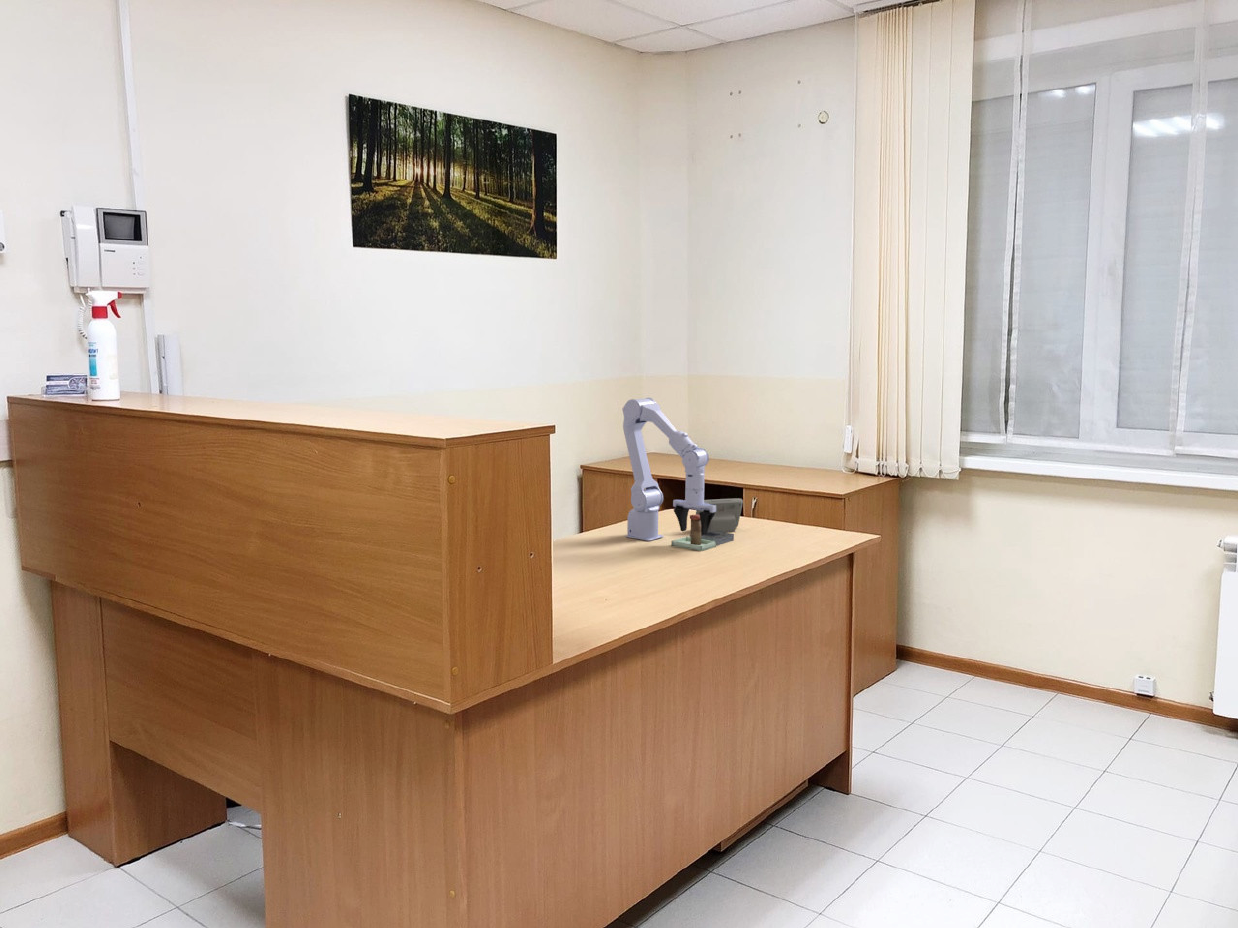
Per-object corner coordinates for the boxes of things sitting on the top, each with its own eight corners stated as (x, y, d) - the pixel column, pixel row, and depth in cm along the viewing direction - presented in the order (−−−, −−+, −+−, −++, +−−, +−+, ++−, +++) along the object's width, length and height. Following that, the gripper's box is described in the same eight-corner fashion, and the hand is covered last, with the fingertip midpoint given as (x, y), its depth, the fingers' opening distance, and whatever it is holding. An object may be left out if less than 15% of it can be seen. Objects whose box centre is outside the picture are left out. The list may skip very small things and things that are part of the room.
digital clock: (738, 527, 331) (739, 496, 330) (745, 533, 322) (746, 500, 321) (691, 528, 329) (691, 496, 328) (696, 534, 320) (697, 501, 319)
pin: (687, 544, 303) (687, 516, 302) (694, 542, 306) (694, 514, 305) (697, 546, 301) (697, 517, 299) (704, 543, 304) (704, 515, 302)
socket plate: (689, 541, 310) (689, 534, 309) (707, 535, 317) (707, 529, 317) (716, 545, 303) (716, 539, 303) (733, 540, 311) (733, 534, 311)
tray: (671, 545, 303) (671, 540, 303) (686, 541, 309) (686, 536, 309) (701, 551, 296) (701, 546, 296) (715, 546, 302) (716, 541, 302)
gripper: (667, 487, 301) (666, 531, 303) (707, 493, 293) (706, 538, 295) (680, 484, 307) (680, 527, 309) (720, 490, 298) (719, 534, 300)
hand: (693, 532), depth 302 cm, fingers open, 7 cm apart
